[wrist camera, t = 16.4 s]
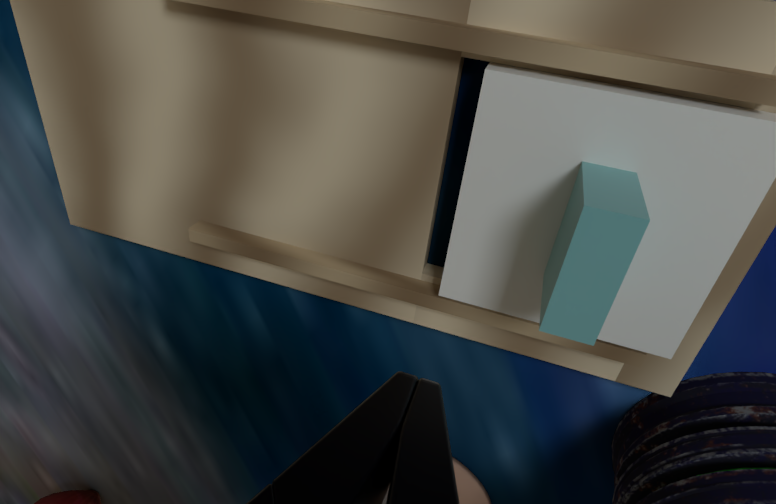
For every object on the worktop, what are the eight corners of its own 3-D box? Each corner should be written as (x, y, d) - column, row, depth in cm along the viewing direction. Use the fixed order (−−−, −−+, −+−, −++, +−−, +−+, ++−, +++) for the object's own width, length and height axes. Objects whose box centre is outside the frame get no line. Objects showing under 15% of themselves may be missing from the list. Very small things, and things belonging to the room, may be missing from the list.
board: (83, 216, 25) (56, 231, 23) (1, -108, 18) (-44, -112, 16) (667, 382, 20) (674, 413, 18) (883, 15, 12) (920, 24, 11)
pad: (317, 512, 32) (314, 518, 32) (323, 407, 27) (320, 413, 26) (472, 571, 30) (471, 578, 30) (513, 471, 25) (512, 478, 24)
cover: (444, 280, 19) (417, 349, 16) (489, 62, 15) (467, 95, 12) (666, 340, 18) (687, 430, 14) (790, 116, 13) (861, 171, 10)
